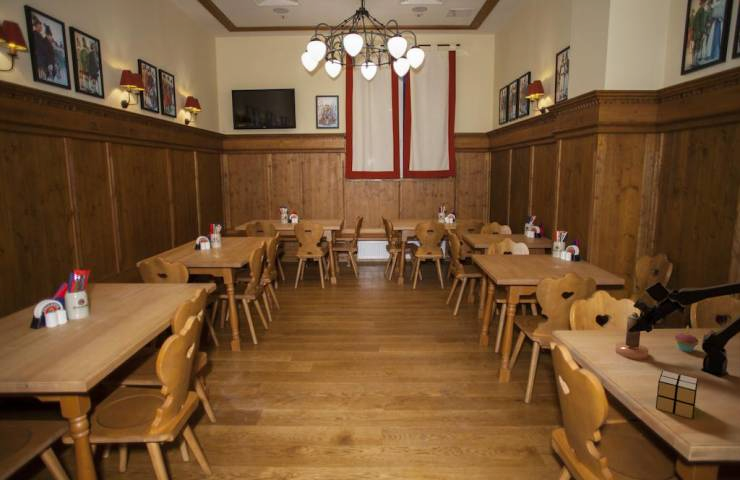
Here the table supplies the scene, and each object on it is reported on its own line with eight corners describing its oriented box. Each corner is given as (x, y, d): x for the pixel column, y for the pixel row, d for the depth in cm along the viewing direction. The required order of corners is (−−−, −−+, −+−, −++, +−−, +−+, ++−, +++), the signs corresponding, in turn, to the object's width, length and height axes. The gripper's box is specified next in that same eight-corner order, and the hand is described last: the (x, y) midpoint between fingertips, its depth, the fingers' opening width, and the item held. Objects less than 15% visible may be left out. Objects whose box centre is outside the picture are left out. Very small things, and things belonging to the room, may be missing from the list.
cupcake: (697, 355, 184) (700, 328, 183) (672, 350, 190) (675, 324, 188) (697, 348, 191) (700, 322, 189) (674, 344, 196) (676, 318, 194)
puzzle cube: (659, 396, 152) (662, 370, 150) (694, 406, 145) (698, 378, 144) (655, 409, 144) (658, 380, 142) (692, 419, 138) (696, 390, 136)
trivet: (654, 357, 184) (655, 350, 183) (635, 362, 179) (635, 355, 179) (627, 346, 195) (628, 340, 194) (608, 351, 190) (609, 344, 190)
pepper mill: (639, 348, 183) (642, 315, 181) (626, 346, 185) (628, 313, 183) (638, 343, 187) (641, 311, 185) (625, 342, 190) (627, 310, 187)
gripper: (651, 289, 187) (620, 308, 196) (644, 299, 173) (611, 320, 182) (671, 310, 183) (639, 329, 192) (666, 322, 169) (631, 342, 178)
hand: (630, 329), depth 186 cm, fingers closed on pepper mill, 5 cm apart
